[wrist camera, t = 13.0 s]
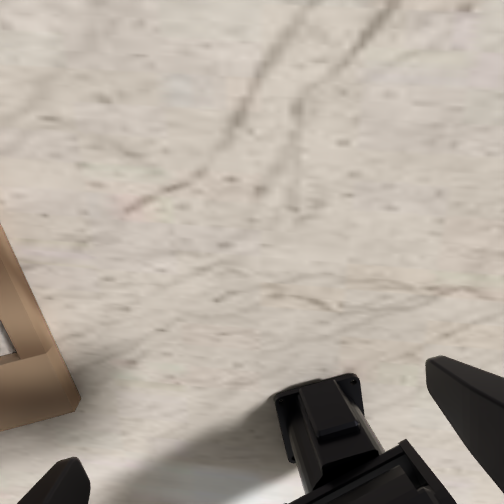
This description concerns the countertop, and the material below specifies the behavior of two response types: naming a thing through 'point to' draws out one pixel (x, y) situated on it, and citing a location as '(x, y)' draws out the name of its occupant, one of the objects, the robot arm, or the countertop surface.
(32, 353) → the socket board
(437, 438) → the countertop surface
